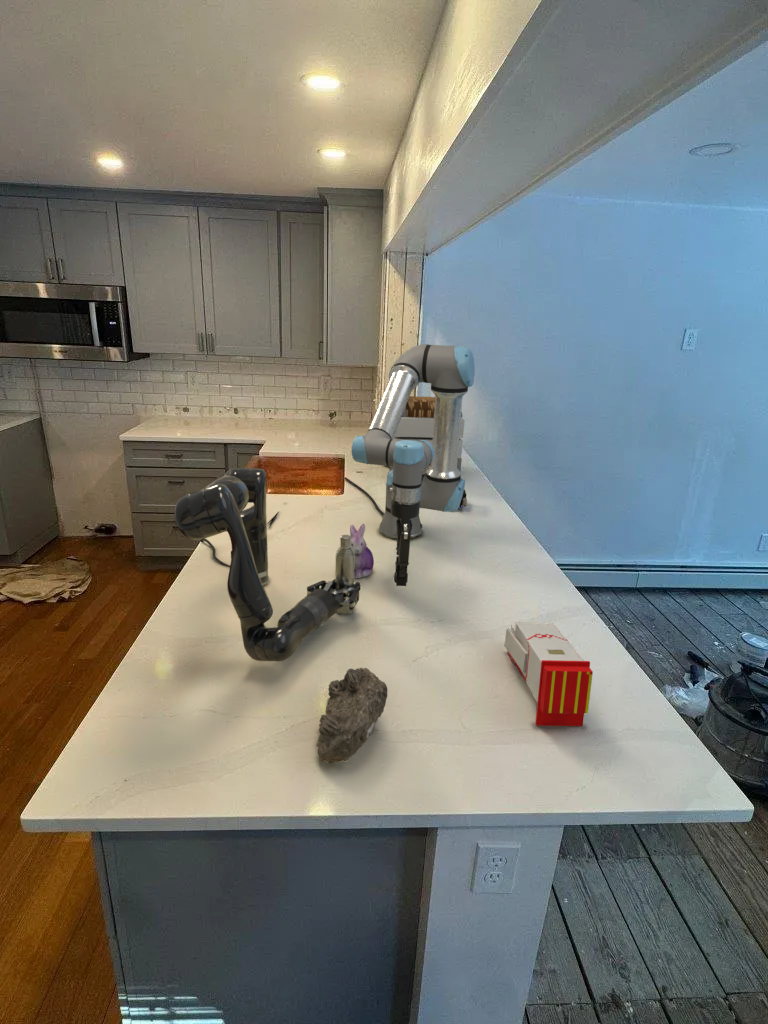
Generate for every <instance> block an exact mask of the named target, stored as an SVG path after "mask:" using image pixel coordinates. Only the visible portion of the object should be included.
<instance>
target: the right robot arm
mask: <svg viewBox="0 0 768 1024" xmlns="http://www.w3.org/2000/svg"><path fill="white" fill-rule="evenodd" d="M475 370H476V369H475V358H474V354H473V352H472V350H471V348H469V347H466V346H459V345H444V344H443V345H441V344H426V343H423V344H422V343H421V344H418V345H415V346H412V347H411V348H409V349H407V350H406V351H404V352H402V354H401V355H400V356H399V357H398V358H396V359H395V361H394V362H393V364H392V365H391V367H390V369H389V372H388V383H387V385H386V387H385V390H384V391H383V394H382V397H381V399H380V402H379V403H378V406H377V408H376V410H375V413H374V415H373V418H372V420H371V422H370V424H369V427H368V428H367V432H366V433H365V435H356V436H355V437H354V438H353V441H352V444H351V456H352V459H353V461H355V462H356V463H358V464H359V463H360V464H365V465H373V466H381V467H382V466H383V467H387V466H390V467H393V470H391V471H390V470H389V472H388V473H387V475H386V482H385V504H384V505H385V507H384V508H385V509H384V511H383V510H382V509H381V508H380V507H379V505H378V504H377V502H376V501H375V499H374V498H373V497H372V496H371V495H370V494H369V493H368V492H367V491H366V490H365V489H363V488H362V487H361V486H359V485H358V484H356V483H355V482H354V481H352V480H351V479H349V478H347V477H345V476H344V480H345V481H347V482H348V483H349V484H350V485H352V486H354V487H355V488H357V489H358V490H360V491H361V492H362V493H364V494H365V495H366V496H367V498H369V499H370V500H371V502H372V503H373V505H374V507H375V509H376V510H377V512H379V513H380V514H381V515H382V519H381V522H379V525H378V533H379V534H380V535H381V536H382V537H385V538H387V539H389V540H395V541H396V547H395V550H396V552H395V553H396V557H395V572H396V571H397V578H396V583H395V586H396V587H407V583H408V582H407V573H408V566H409V564H410V562H409V561H410V547H411V540H415V539H418V538H420V537H421V536H422V535H423V524H422V523H421V518H420V509H425V510H432V511H437V512H438V511H439V512H443V513H444V512H447V513H455V512H457V511H458V509H459V508H460V507H459V505H460V502H461V499H462V496H463V492H464V489H465V488H466V479H464V478H462V473H461V472H462V471H461V472H460V471H459V470H458V469H457V458H458V446H459V433H460V420H461V418H462V417H461V412H462V406H463V398H464V396H465V395H466V394H467V393H468V391H469V388H471V387H473V386H474V383H475ZM421 383H425V384H430V391H431V392H432V394H434V397H435V408H434V425H433V441H432V445H431V444H430V443H429V442H428V441H426V440H416V441H413V440H394V439H393V437H394V434H395V432H396V429H397V427H398V424H399V422H400V419H401V417H402V414H403V412H404V409H405V407H406V404H407V402H408V399H409V397H410V396H411V394H412V391H413V390H414V389H416V388H417V387H418V385H419V384H421ZM430 464H431V465H430ZM429 465H430V466H429ZM390 467H389V468H390ZM428 467H429V468H428ZM426 468H427V469H426ZM425 469H426V471H425V473H423V471H424V470H425ZM458 507H459V508H458ZM406 582H407V583H406Z"/></svg>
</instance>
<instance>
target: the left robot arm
mask: <svg viewBox="0 0 768 1024" xmlns="http://www.w3.org/2000/svg"><path fill="white" fill-rule="evenodd" d="M267 490H268V479H267V474H266V471H265V469H263V468H258V467H254V468H253V467H233V468H230V469H228V470H227V471H226V472H225V473H224V475H223V476H221V477H219V478H217V479H215V480H214V481H212V482H211V483H209V484H208V485H206V486H205V487H204V488H202V489H201V488H200V489H198V490H196V491H193V492H189V493H187V494H184V495H182V496H181V497H180V498H179V499H178V500H177V502H176V503H175V506H174V521H175V524H176V526H177V528H178V530H179V531H180V533H181V534H182V535H183V536H185V537H186V538H187V539H190V540H193V541H200V542H201V543H203V541H204V542H206V543H207V545H209V546H210V548H211V549H212V557H213V559H214V560H215V561H216V562H217V563H218V564H220V565H221V566H224V567H226V568H229V569H228V574H227V583H226V584H227V585H226V587H227V594H228V597H229V600H230V602H231V604H232V606H233V609H234V611H235V613H236V615H237V617H238V619H239V622H240V630H241V631H240V632H241V636H242V643H243V648H244V650H245V652H246V654H247V656H249V657H250V658H251V659H252V660H254V661H255V662H256V661H257V662H278V663H279V662H283V661H286V660H287V659H290V658H291V657H292V656H294V654H295V652H296V651H297V649H298V648H299V646H300V645H301V643H302V641H303V640H304V638H306V636H308V635H309V634H311V633H312V632H313V631H315V630H316V629H318V628H320V627H321V626H322V625H323V624H324V623H326V622H327V621H328V620H330V619H331V618H332V617H333V616H334V615H335V614H336V613H337V612H336V610H337V609H338V608H341V607H343V606H349V609H350V610H353V611H354V610H355V608H356V606H357V604H358V602H359V601H360V591H361V587H362V585H361V581H360V582H359V581H356V582H354V585H352V586H351V587H350V588H348V589H345V588H343V589H340V590H338V591H337V590H335V578H334V579H333V580H329V581H328V582H326V581H327V580H324V579H323V580H319V581H318V582H315V583H313V584H311V585H308V586H307V587H306V596H304V598H302V599H301V600H299V601H298V602H297V603H296V604H295V605H294V606H293V607H291V608H289V609H288V610H287V611H286V612H284V613H283V614H282V615H281V616H280V617H279V619H278V620H277V625H276V627H266V625H265V623H267V622H268V621H269V620H270V619H271V618H272V616H273V614H274V609H273V605H272V603H271V600H270V598H269V596H268V594H267V592H266V590H265V586H266V585H267V584H268V583H269V581H270V580H269V579H270V577H269V554H268V553H269V552H268V549H269V548H268V524H267V523H268V522H267V521H268V520H267V492H268V491H267ZM248 503H249V504H253V505H251V507H249V508H246V507H247V505H248ZM245 508H246V509H245ZM226 532H227V533H228V536H229V540H230V544H231V551H230V564H227V563H225V562H223V561H221V560H220V559H219V558H218V557H217V556H216V547H215V546H214V545H213V544H212V542H211V541H210V540H208V539H207V538H210V537H213V536H217V535H220V534H222V533H226ZM342 593H343V594H342ZM348 593H349V595H348Z"/></svg>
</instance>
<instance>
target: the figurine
mask: <svg viewBox="0 0 768 1024" xmlns="http://www.w3.org/2000/svg"><path fill="white" fill-rule="evenodd" d="M365 531H366V524H365V523H362V524H361V525H360V527H359V528H358V530H357V528H356V527H355V525H354V524H350V526H349V535H350V536H351V543H350V547H351V548H352V550H353V551H354V554H355V563H354V579H360V578H365V577H368V576H370V575H371V574H372V573H373V570H374V565H375V560H374V555H373V552H372V551H371V549H370V548H369V547H367V542H366V540H365V538H364V535H365Z"/></svg>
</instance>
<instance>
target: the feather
mask: <svg viewBox="0 0 768 1024" xmlns="http://www.w3.org/2000/svg"><path fill="white" fill-rule="evenodd" d="M278 514H279V512H277V513H276V514H275V515H274V516H273V517H272V518H271V519H269V521H268V522H267V525H268V524H269V529H270V528H271V526H272V525H273V523H274V521H275V520H276V518H277V516H278Z"/></svg>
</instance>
